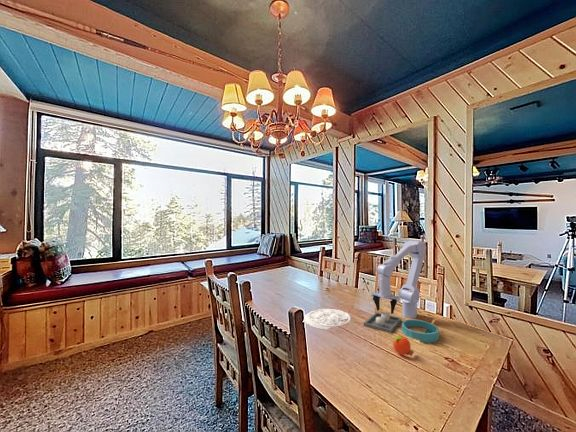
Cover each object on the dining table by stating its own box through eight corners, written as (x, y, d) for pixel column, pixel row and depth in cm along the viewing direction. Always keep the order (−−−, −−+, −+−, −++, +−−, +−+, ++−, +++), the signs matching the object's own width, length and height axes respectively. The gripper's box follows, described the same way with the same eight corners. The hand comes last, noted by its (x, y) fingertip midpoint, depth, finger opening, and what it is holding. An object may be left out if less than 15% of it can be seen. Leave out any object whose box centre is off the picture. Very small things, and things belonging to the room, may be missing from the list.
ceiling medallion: (355, 332, 131) (355, 326, 131) (300, 328, 137) (300, 323, 137) (352, 311, 158) (352, 306, 158) (307, 309, 164) (307, 304, 164)
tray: (376, 316, 149) (376, 312, 149) (401, 322, 140) (401, 318, 140) (363, 327, 135) (363, 322, 135) (391, 335, 126) (390, 330, 126)
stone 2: (382, 318, 144) (382, 311, 144) (390, 320, 141) (390, 313, 141) (380, 321, 141) (379, 313, 141) (388, 323, 138) (388, 315, 138)
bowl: (407, 324, 138) (406, 317, 138) (441, 332, 128) (441, 324, 127) (397, 336, 125) (397, 327, 125) (435, 346, 115) (435, 337, 115)
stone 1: (377, 323, 138) (377, 315, 138) (385, 325, 135) (385, 317, 135) (374, 326, 134) (374, 318, 134) (383, 328, 132) (382, 320, 132)
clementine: (398, 359, 106) (398, 342, 106) (387, 350, 112) (387, 334, 112) (414, 355, 108) (414, 338, 108) (402, 347, 115) (402, 331, 115)
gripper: (369, 286, 142) (369, 310, 142) (396, 290, 133) (396, 317, 133) (373, 283, 148) (374, 307, 148) (400, 287, 138) (400, 312, 139)
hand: (385, 311), depth 141 cm, fingers open, 7 cm apart
